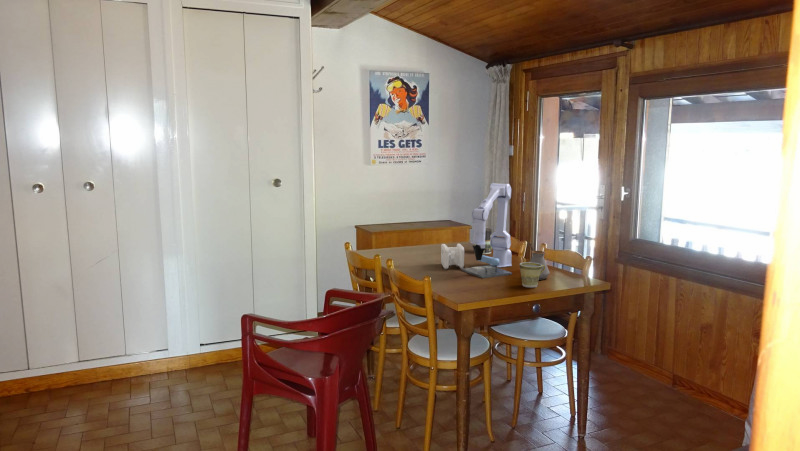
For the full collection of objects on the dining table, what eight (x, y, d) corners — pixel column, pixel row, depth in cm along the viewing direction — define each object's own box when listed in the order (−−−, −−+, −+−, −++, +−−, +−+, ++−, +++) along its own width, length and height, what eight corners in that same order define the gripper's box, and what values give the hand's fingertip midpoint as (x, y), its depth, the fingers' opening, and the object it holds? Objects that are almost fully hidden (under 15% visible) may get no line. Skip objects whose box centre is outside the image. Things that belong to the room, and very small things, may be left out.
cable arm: (500, 265, 281) (500, 259, 280) (495, 265, 279) (495, 260, 279) (480, 259, 294) (480, 253, 294) (474, 260, 292) (474, 254, 292)
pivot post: (495, 272, 283) (495, 264, 283) (497, 272, 282) (498, 265, 281) (492, 272, 282) (492, 265, 282) (494, 273, 281) (495, 266, 280)
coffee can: (490, 251, 338) (490, 227, 336) (492, 254, 328) (493, 230, 326) (472, 250, 338) (473, 227, 336) (474, 254, 328) (475, 230, 326)
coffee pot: (552, 280, 267) (554, 249, 265) (528, 280, 266) (530, 249, 264) (538, 270, 288) (540, 241, 286) (516, 270, 287) (518, 241, 285)
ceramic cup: (527, 289, 250) (528, 267, 249) (514, 284, 260) (515, 263, 258) (550, 286, 256) (551, 265, 254) (537, 281, 265) (538, 261, 263)
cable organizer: (464, 270, 287) (465, 248, 285) (443, 270, 286) (444, 248, 284) (459, 264, 301) (459, 242, 300) (439, 264, 301) (440, 242, 299)
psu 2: (479, 271, 280) (479, 266, 280) (485, 273, 276) (485, 268, 276) (471, 272, 278) (471, 267, 278) (476, 274, 274) (477, 269, 273)
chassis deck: (489, 267, 294) (490, 265, 294) (511, 274, 278) (511, 272, 278) (461, 270, 286) (461, 268, 286) (482, 278, 270) (482, 276, 270)
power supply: (489, 270, 283) (489, 265, 283) (495, 272, 279) (495, 267, 278) (480, 271, 281) (481, 265, 280) (486, 273, 276) (487, 267, 276)
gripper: (467, 230, 281) (466, 257, 283) (475, 235, 266) (474, 263, 268) (481, 230, 282) (480, 256, 284) (489, 235, 267) (488, 263, 269)
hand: (478, 260), depth 276 cm, fingers closed
